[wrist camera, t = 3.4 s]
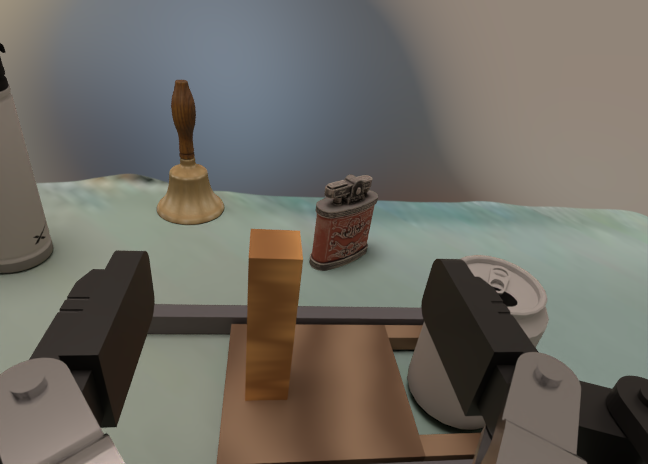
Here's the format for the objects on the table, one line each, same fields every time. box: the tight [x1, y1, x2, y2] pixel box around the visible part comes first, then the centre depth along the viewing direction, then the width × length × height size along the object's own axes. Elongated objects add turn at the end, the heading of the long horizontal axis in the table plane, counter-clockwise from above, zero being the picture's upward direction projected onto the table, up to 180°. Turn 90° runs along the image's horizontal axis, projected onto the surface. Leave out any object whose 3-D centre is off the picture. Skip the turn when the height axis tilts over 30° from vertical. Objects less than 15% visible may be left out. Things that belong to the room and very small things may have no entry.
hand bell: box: [157, 80, 224, 225], centre depth 50 cm, size 8×8×16 cm
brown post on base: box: [217, 229, 481, 464], centre depth 30 cm, size 24×12×14 cm, turn 96°
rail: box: [147, 304, 473, 464], centre depth 32 cm, size 38×16×2 cm, turn 96°
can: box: [407, 255, 549, 430], centre depth 31 cm, size 8×8×12 cm
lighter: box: [309, 175, 378, 271], centre depth 47 cm, size 8×3×10 cm, turn 130°
